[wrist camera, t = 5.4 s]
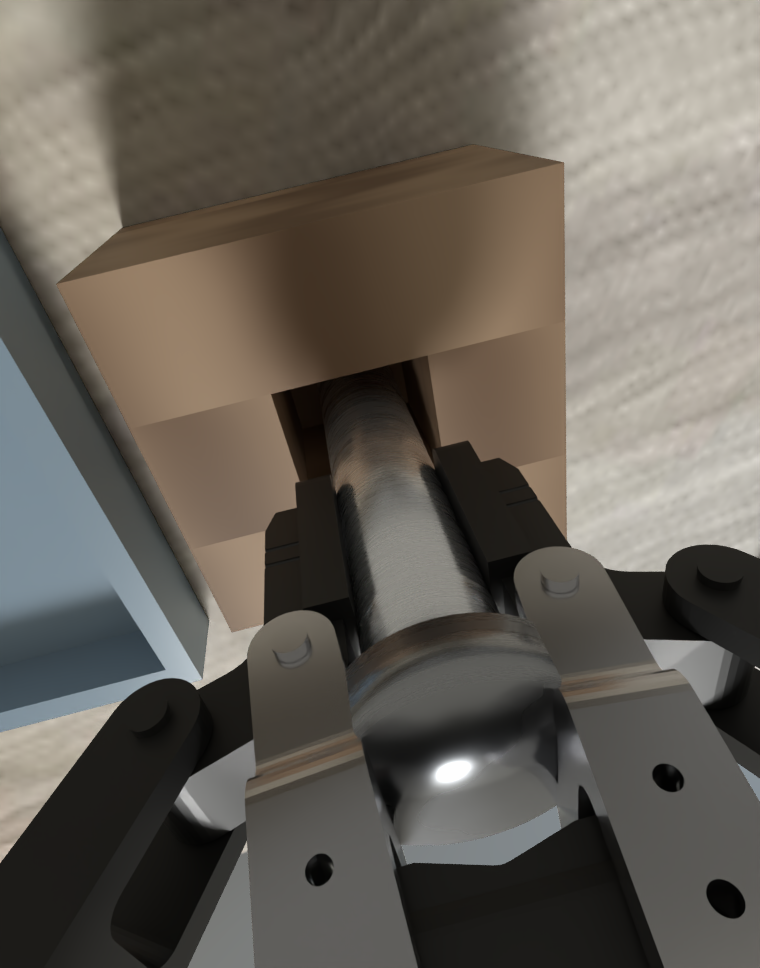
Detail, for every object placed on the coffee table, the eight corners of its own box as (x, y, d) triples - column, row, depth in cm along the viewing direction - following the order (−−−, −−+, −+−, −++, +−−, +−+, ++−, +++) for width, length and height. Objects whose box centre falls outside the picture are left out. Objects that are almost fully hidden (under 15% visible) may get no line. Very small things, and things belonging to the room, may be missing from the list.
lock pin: (401, 312, 16) (611, 647, 6) (419, 419, 18) (601, 806, 8) (282, 341, 16) (298, 728, 6) (312, 445, 18) (363, 868, 8)
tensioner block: (473, 144, 16) (563, 162, 11) (498, 445, 22) (566, 545, 17) (122, 227, 16) (55, 284, 11) (240, 510, 22) (231, 632, 17)
